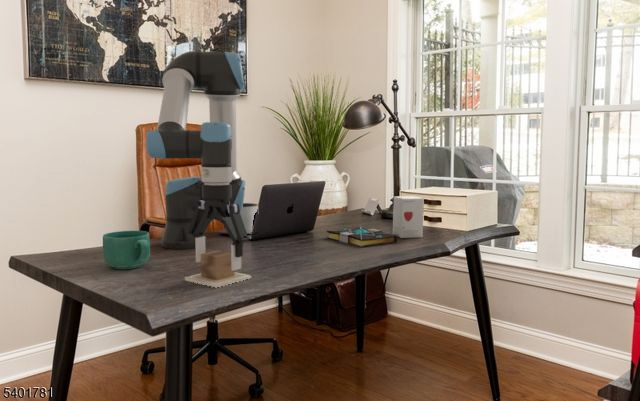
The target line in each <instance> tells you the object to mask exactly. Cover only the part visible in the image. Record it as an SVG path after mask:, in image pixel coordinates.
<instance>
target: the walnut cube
mask: <svg viewBox="0 0 640 401" xmlns="http://www.w3.org/2000/svg"><path fill="white" fill-rule="evenodd" d="M234 272H235V270H234V271H233V270H231V252H230V251H224V250H219V249H218V250H214V251H209V252H206V253H202V254H201V262H200V274H201V277H204V278H208V279H213V280H221V279H224V278H228V277H232V276H234Z"/></svg>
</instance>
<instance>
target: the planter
mask: <svg viewBox="0 0 640 401" xmlns="http://www.w3.org/2000/svg"><path fill="white" fill-rule="evenodd" d="M257 209H258V210H259V204H258V203H251V202H243V208H242V211H241V212H240V215H241V217H242V220H243V223H244V226H245V229H246V232H247V233H251V232H252V226H253V220H254V215H255V213H256V212H257ZM225 231H226V233H227V234H228V232H227V230H226V229H225Z"/></svg>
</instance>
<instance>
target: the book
mask: <svg viewBox="0 0 640 401" xmlns="http://www.w3.org/2000/svg"><path fill="white" fill-rule="evenodd" d="M326 233H328V236H326V240H327V239H328V240H332V241H337V242H340V243H344V244H349V245H354V246H356V247H359V248H367V247H370V246H372V247H373V246H378V245H385V244H399V237H398V234H393V233H388V232H385V231H384V232H383V230H381V229H376V228H370V229H369V228H365V227H362V226H359V227H354V228H347V227H345V226H344V227H343V228H342V229H339V230H338V229H337V230H336V229H335V230H333V229H326Z"/></svg>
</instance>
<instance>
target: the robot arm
mask: <svg viewBox="0 0 640 401" xmlns="http://www.w3.org/2000/svg"><path fill="white" fill-rule="evenodd" d="M242 66H243V65H242V59H241V56H240V54H239V53H236V52H229V51H197V50H196V51H195V50H191V51H187V52H184V53H181V54H179V55H178V56H176V57H175V58H174V59H173V60H171V61H170V62H169V63H168V65H167V66H166V68H165V69H164V71H163V75H162V80H161V81H162V85H163V95H162V100H161V106H160V111H159V116H158V123H157V128H156V129H151V130H148V131H147V132H146V138H145V143H146V144H145V147H146V153H147V155H148V157H149V158H152V159H162V160H166V159H167V160H168V159H201V176H189V177H181V178H176V179H170V180H168V181H166V184H165V194H164V196H165V216H166V217H165V218H166V219H165V223H166V224H165V227H164V230H163V235H162V237H161V247H162V248H165V249H173V250H174V249H175V250H187V249H195V263H201V254H202V253H207V252H206V251H207V250H206V246H207V244H208V243H207V242H208V240H207V239H208V238H207V235H206V233H205V232H206V230H207V229H208V228H209V226H210V224H211V223H212V221H213V220H215V221H219V222H220V223H221V224H222V225H223V227H224V229H225V231H226V230H227V232H228V233H227V232H226V233H227V235H228V236H229V237H230V239H231V241H232V244H230V251H231V270H233V271H234V272H235V271H237V270H241V269H242V257H243V256H244V253H243V252H244V251H243V247H244V246H243V245H244V243H248V242H250V238H249V235H247V232H246V229H245V226H244V223H243V220H242V217H241V215H240V212H241V211H242V208H243V203H244V202H245V200H244V199H245V190H246V180H243V179H242V174H241V173H239V172H238V169H237V106H236V104H237V99H239V97H241V91H242V90H244V89H245V82H244V74H243V73H244V72H243V67H242ZM194 89H198V90H199V89H200V90H202V89H203V91H204V96H205V97H206V98H207V99H208V100H209V101H208V103H209V106H208V107H209V110H208V111H209V122H208V121H207V122H202V124H201V125H200V129H199V130H194V129H193V130H190V129H189V130H187V122H188V114H189V113H188V112H189V104H190V94H191V93H192V91H193V90H194Z"/></svg>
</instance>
